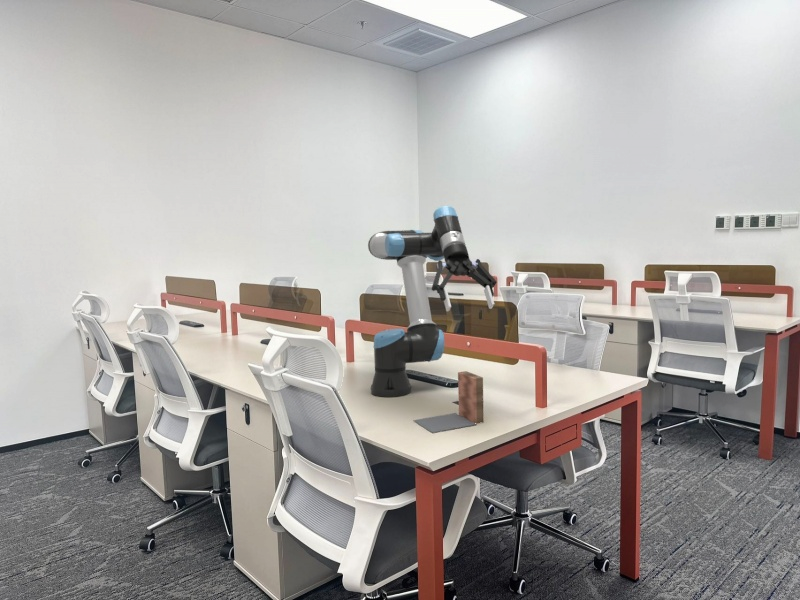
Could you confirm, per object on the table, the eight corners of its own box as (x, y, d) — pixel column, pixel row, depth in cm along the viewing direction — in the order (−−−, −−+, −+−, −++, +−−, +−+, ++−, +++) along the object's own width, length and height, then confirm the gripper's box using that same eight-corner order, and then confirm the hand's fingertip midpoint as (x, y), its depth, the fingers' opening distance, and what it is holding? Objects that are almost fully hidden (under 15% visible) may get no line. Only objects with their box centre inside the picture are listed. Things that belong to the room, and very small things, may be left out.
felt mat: (413, 421, 174) (413, 420, 174) (455, 413, 180) (455, 412, 180) (432, 433, 162) (432, 432, 162) (476, 425, 168) (476, 424, 168)
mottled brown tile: (458, 415, 179) (458, 372, 178) (467, 413, 180) (466, 371, 179) (475, 423, 170) (474, 378, 169) (483, 422, 171) (482, 377, 170)
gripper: (418, 243, 168) (433, 303, 158) (495, 241, 174) (513, 298, 164) (413, 257, 174) (427, 316, 164) (487, 254, 181) (504, 311, 170)
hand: (470, 307), depth 164 cm, fingers open, 13 cm apart
